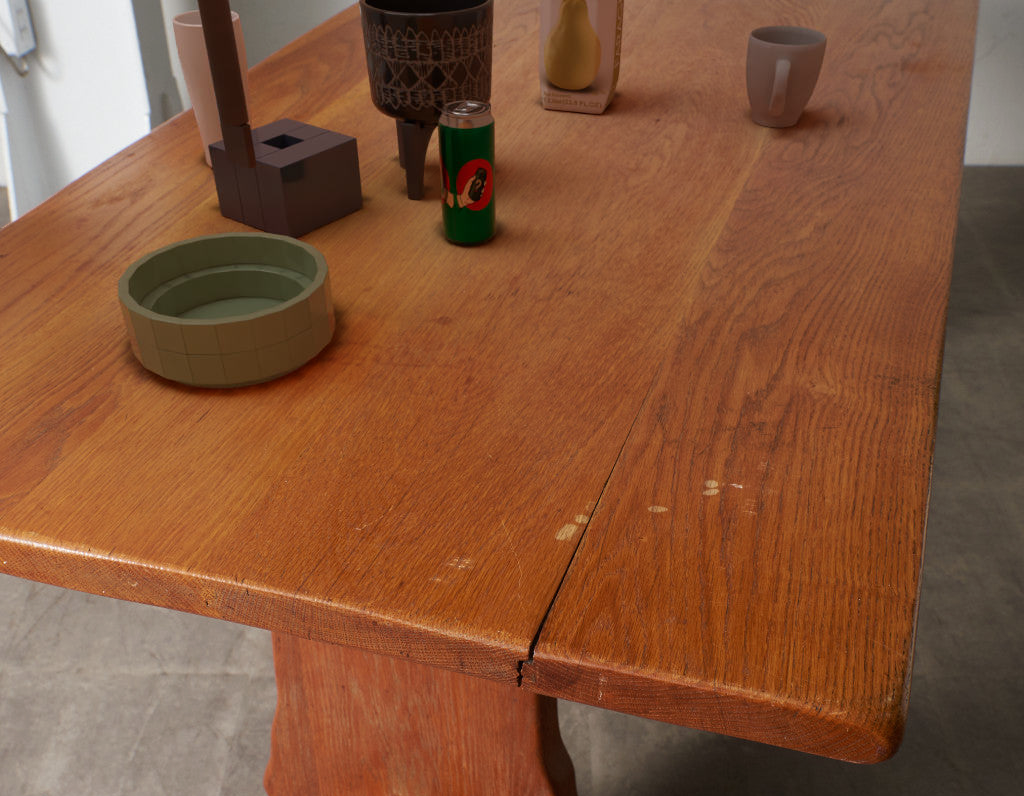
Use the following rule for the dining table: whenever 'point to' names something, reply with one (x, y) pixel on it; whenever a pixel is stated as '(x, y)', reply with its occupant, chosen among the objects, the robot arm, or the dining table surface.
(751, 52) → the mug
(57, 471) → the dining table surface
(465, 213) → the soda can
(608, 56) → the juice carton
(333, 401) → the dining table surface
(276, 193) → the holder
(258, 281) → the bowl
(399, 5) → the planter
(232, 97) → the dark brown square rod
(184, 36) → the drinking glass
